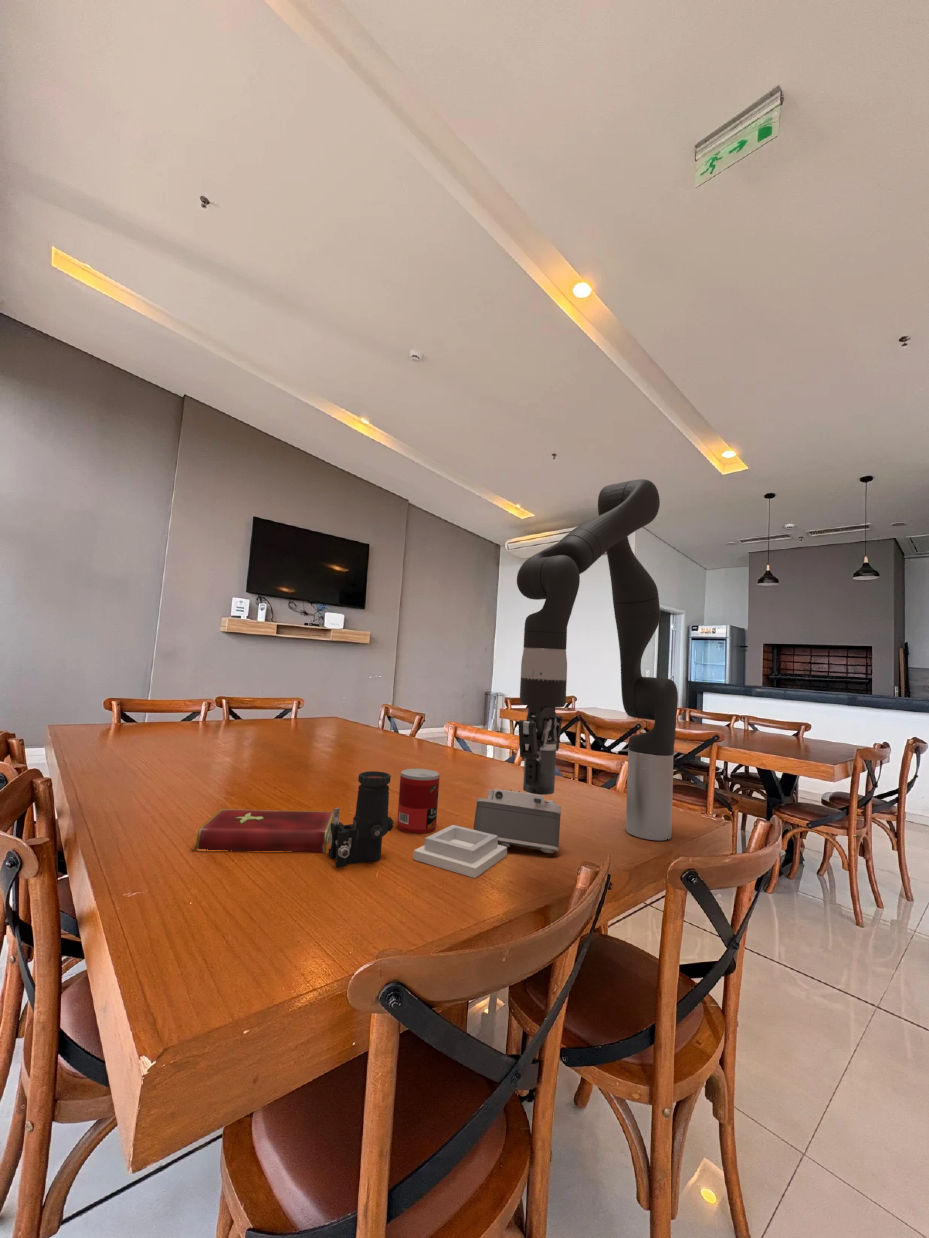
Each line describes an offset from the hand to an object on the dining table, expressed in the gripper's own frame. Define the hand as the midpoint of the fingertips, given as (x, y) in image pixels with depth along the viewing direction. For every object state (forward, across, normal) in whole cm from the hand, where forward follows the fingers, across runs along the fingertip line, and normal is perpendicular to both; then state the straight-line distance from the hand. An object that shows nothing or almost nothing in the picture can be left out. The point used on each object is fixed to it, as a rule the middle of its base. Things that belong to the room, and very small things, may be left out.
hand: (539, 781), depth 83 cm
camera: (+16, +13, +9) cm, 22 cm away
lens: (+1, 0, 0) cm, 1 cm away
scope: (+16, -10, +27) cm, 33 cm away
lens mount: (+15, +1, +14) cm, 21 cm away
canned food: (+16, +9, +29) cm, 34 cm away
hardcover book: (+16, -14, +45) cm, 50 cm away
